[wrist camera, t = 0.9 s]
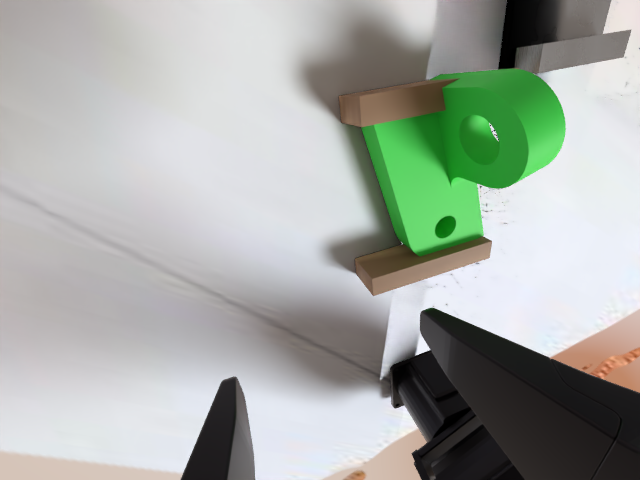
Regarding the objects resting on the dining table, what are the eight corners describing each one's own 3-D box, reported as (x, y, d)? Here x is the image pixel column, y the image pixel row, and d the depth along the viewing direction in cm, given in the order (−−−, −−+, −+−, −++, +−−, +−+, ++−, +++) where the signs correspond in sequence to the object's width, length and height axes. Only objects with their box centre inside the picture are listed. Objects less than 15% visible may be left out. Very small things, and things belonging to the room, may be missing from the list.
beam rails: (462, 241, 26) (489, 257, 23) (356, 274, 24) (373, 296, 21) (479, 71, 20) (518, 67, 17) (338, 96, 18) (359, 96, 15)
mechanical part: (357, 117, 18) (441, 131, 12) (439, 74, 19) (568, 64, 12) (403, 260, 25) (476, 324, 18) (465, 225, 25) (559, 275, 18)
